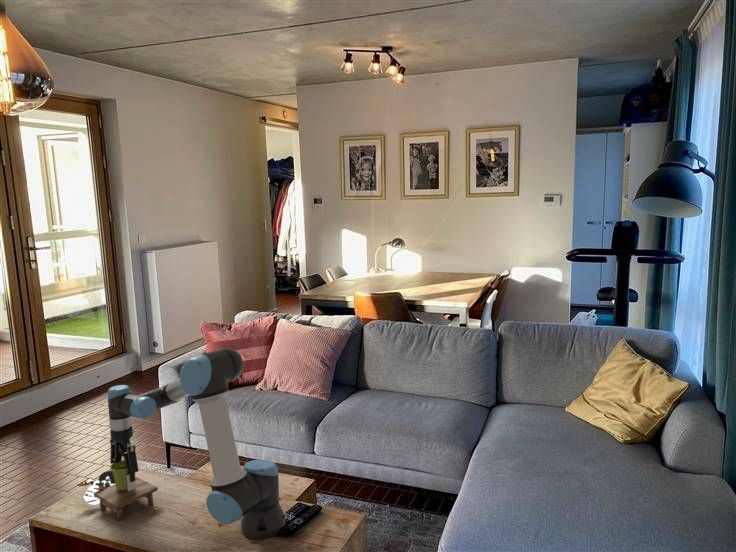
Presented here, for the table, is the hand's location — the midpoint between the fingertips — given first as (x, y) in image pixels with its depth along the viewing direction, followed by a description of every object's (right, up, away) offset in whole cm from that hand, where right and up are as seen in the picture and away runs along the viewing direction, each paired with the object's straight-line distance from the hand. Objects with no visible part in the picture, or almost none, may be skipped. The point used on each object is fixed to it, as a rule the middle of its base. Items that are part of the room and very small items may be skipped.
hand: (125, 485), depth 200 cm
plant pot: (0, -1, 0) cm, 1 cm away
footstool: (0, -9, +1) cm, 9 cm away
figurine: (-13, -8, +9) cm, 18 cm away
